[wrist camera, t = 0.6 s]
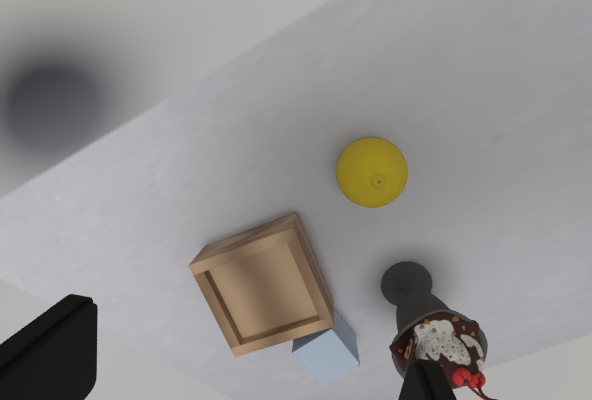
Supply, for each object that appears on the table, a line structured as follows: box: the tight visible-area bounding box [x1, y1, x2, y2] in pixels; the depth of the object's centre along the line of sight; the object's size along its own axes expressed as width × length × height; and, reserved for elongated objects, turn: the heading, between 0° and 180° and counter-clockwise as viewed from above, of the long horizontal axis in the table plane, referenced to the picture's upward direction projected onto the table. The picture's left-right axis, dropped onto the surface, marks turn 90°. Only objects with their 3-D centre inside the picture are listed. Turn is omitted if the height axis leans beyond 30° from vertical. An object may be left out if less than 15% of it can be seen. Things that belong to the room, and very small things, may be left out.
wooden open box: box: [189, 212, 335, 357], centre depth 33 cm, size 10×10×4 cm
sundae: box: [381, 262, 496, 400], centre depth 27 cm, size 7×7×15 cm
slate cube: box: [292, 308, 360, 387], centre depth 34 cm, size 4×4×4 cm
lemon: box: [336, 137, 408, 208], centre depth 28 cm, size 6×6×8 cm
